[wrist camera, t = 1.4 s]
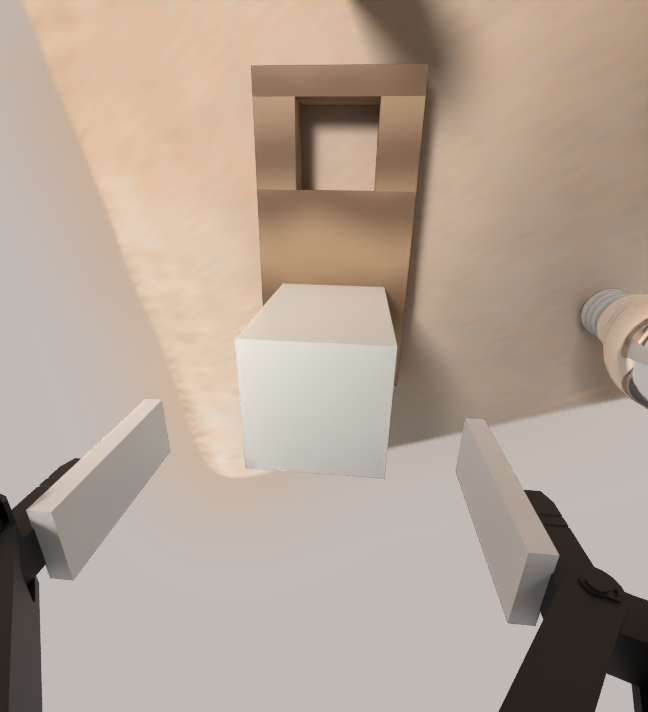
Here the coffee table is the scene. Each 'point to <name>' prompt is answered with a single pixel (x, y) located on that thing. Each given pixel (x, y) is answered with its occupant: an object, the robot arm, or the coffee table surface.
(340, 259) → the board
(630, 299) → the light bulb
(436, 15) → the coffee table surface
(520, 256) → the coffee table surface
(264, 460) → the block
